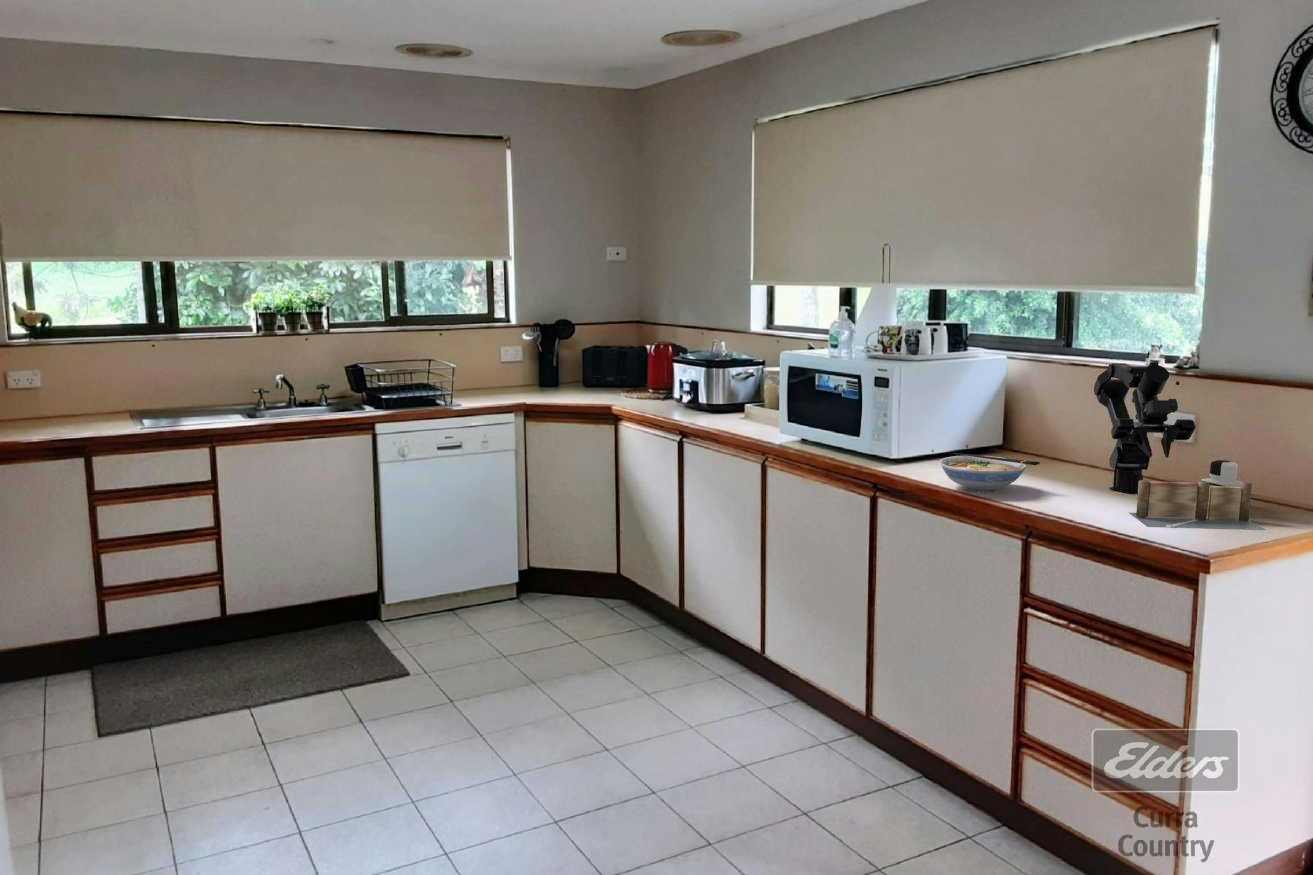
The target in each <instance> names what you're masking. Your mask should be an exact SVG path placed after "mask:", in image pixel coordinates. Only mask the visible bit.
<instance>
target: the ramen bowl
mask: <svg viewBox="0 0 1313 875" xmlns="http://www.w3.org/2000/svg"><path fill="white" fill-rule="evenodd" d="M951 454H953V455H955V456H949V457H944V458H942V459H939V462H940V463H939V464H940V466H941V468H942V470H943V472H944V473H945V474H946V476H947V477H948V479H949V480H951V481H952V482H954V483H956V484H958V485H960V486H962V487H965V488H966V489H967V490H969V491H973V492H978V491H980V492H982V493H983V491H984V493H987V492H986V491H991V492H994V491H996V490H998V489H1002V488H1005V487H1008V486H1009V485H1011V484H1013V483H1015V481H1017V480H1018V478H1019V479H1020V477H1021V475H1022V474H1023V473H1024V471H1025V470H1026V468H1027V465H1030V466H1037V465H1040V463H1041V462H1040V461H1035V460H1034V461H1033V460H1024V459H1014V458H1006V457H1003V456H1002V457H1000V456H990V455H976V454H966V453H958V452H957V453H956V452H952V453H951Z"/></svg>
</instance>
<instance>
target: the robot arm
mask: <svg viewBox="0 0 1313 875" xmlns="http://www.w3.org/2000/svg"><path fill="white" fill-rule="evenodd" d="M1106 368H1107V369H1105V370H1104V371H1103V372H1101V373H1100V374H1099V375H1098V376H1097V378H1096V380H1095V383H1094V384H1093V393H1094V394H1093V395H1095V396H1096V399H1097V402H1098V403H1099V404H1101V405H1102V406H1104V407H1105V408H1106V409H1107V411H1108V415H1109V418H1110V422H1111V424H1112V425H1111V426H1112V428H1111V432H1110V434H1111V438H1112V439H1113V440H1116V444H1115V447H1114V448H1113V450H1112V453H1111V454H1110V457H1109V459H1108V460H1109V467H1110V468H1112V469H1113V470H1114V471H1113V482H1112V486H1110V487H1109V488H1108V489H1109V490H1112V491H1117V492H1120V493H1122V492H1123V493H1127V494H1134V493H1135V494H1136V493H1138V484H1139V480H1144V475H1143V470H1145V471H1147V470H1148V469H1149V465H1150V460H1151V458H1152V457H1153V451H1152V448H1151V443H1150V440H1149V438H1148V437H1149V436H1148V434H1162V438H1161V440H1160V444H1161V447H1162V451H1163V455H1164V456H1165V458H1166V459H1168V458H1169V456H1170V451H1171V446H1172V443H1173V442H1174V441H1188V440H1190V438H1191V437H1192V435H1193V434H1194V432H1195V430H1196V429H1197V428H1196V427H1197V426H1196V422H1195V421H1194V420H1193V419H1191V418H1190V419H1187V418H1184V419H1183V418H1182V419H1178V418H1177V419H1176V420H1175V422H1174V424H1169V423H1168V424H1167V423H1165V422H1167V421H1168V420H1169V419H1168V415H1170V414H1173V413H1176V412H1177V411H1178V410H1179V406H1178V403H1179V402H1178V400H1177V398H1168V399H1167V400H1165V399H1164V400H1163V399H1159V396H1158V395H1160V394H1162V392H1163V390H1164V388H1165V386H1166V384H1167V382H1168V381H1169V378H1170V372H1169V370H1167V368H1165V367H1164V366H1162V365H1160V364H1159V362H1158V361H1156V362H1155V361H1150V362H1149V364H1148V366H1143V365H1142V366H1141V365H1140V366H1136V365H1135V366H1133V365H1130V364H1128V363H1123V362H1122V363H1121V362H1120V363H1118V362H1117V363H1116V362H1114V363H1113V362H1112V363H1109V364H1108V366H1107V367H1106ZM1112 378H1115V379H1112ZM1130 389H1134V390H1133V391H1132V395H1131V396H1132V399H1131V402H1132V404H1134V408H1135V413H1136V414H1135V420H1137V422H1136V421H1134V418H1130V417H1131V416H1130V413H1129V411H1128V409H1127V405H1126V402H1125V401H1126V397H1127V395H1128V393H1129V390H1130Z"/></svg>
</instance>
